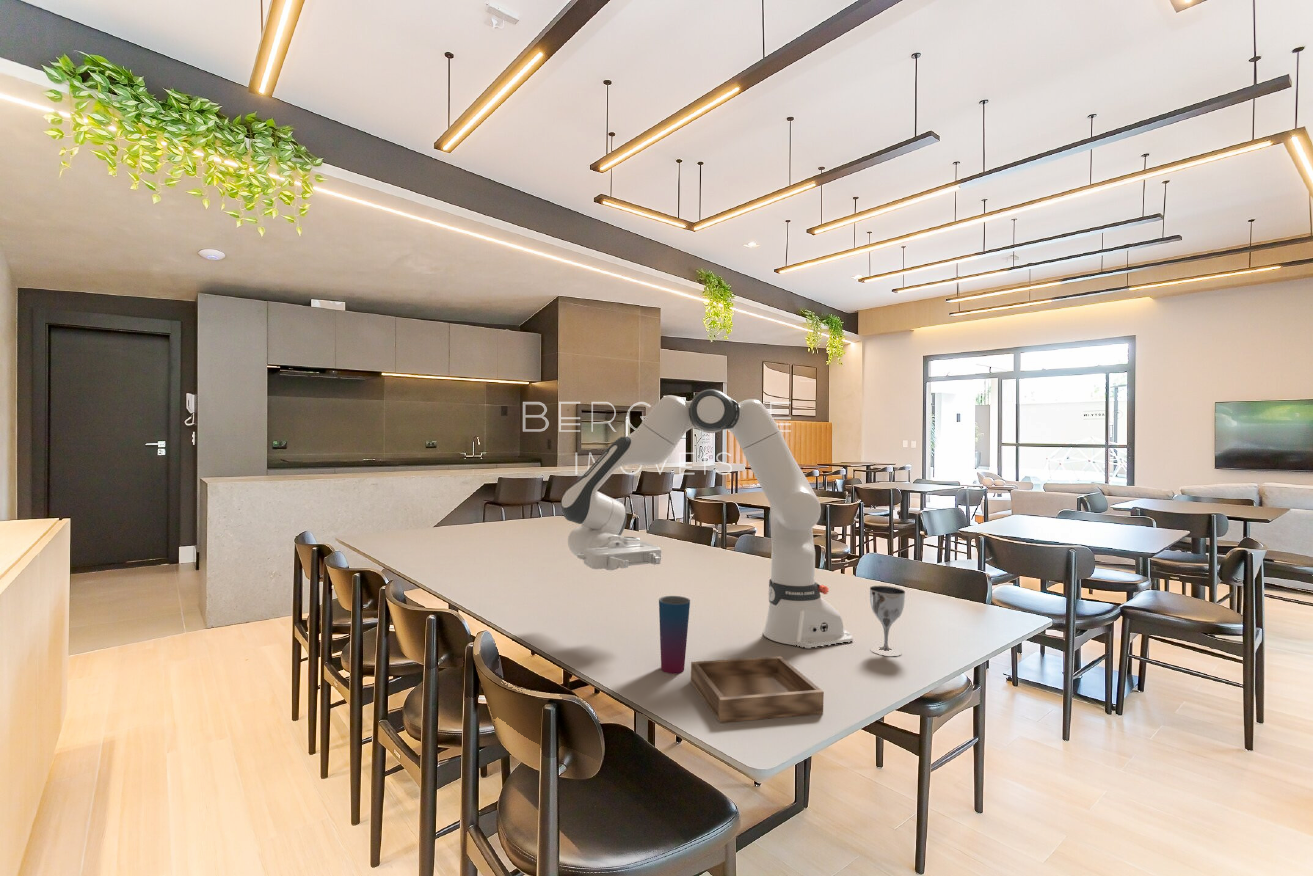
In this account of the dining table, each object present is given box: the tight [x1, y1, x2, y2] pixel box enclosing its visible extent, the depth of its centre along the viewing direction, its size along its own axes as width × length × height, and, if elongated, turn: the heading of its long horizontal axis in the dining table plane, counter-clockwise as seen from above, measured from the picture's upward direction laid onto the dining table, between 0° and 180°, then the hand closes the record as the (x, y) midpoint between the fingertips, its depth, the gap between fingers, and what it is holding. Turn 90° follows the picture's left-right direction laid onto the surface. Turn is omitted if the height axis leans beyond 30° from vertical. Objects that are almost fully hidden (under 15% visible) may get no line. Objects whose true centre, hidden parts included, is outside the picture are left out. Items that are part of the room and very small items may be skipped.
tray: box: [690, 656, 825, 724], centre depth 113 cm, size 20×18×4 cm
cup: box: [658, 595, 691, 674], centre depth 126 cm, size 7×7×15 cm
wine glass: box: [869, 585, 906, 651], centre depth 140 cm, size 8×8×15 cm
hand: (642, 562), depth 136 cm, fingers open, 8 cm apart
